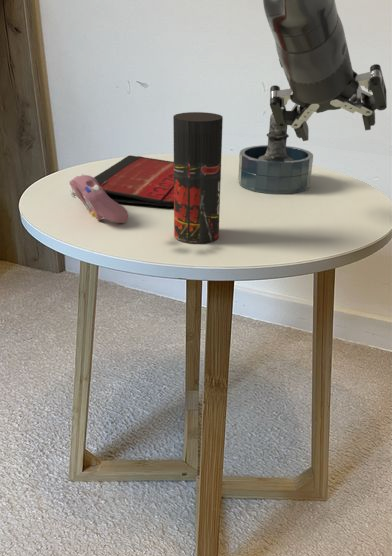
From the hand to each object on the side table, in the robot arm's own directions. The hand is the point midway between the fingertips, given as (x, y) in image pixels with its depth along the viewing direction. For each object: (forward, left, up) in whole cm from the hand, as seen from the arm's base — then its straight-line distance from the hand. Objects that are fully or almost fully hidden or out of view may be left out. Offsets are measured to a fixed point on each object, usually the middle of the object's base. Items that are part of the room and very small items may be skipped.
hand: (336, 129), depth 83 cm
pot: (+8, -13, -12) cm, 19 cm away
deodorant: (+17, +14, -12) cm, 25 cm away
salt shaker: (+8, -13, -11) cm, 19 cm away
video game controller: (+32, +9, -12) cm, 36 cm away
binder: (+28, -7, -12) cm, 31 cm away
